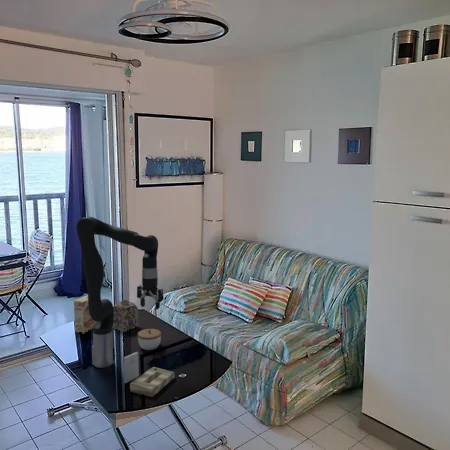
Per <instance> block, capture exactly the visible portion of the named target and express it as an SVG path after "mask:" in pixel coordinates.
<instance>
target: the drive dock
mask: <svg viewBox="0 0 450 450" xmlns="http://www.w3.org/2000/svg"><path fill="white" fill-rule="evenodd" d="M174 379H175V371H171V370H167V369H164V368H159V367H155V366H153V367H151V368H149V369H147V371H145V372H144V373H143V374H141V375H140V376H138V377H136V378H135V379H133V380H131V381H130V383H129V389H130V391H129V392H131V393H135V394H138V395H143V394H144V396H147V397H152V398H153V397H154V396H155V395H157V393H160V391H161V390H162V389H164V387H166V386H167V385H168V384H169V383H170V382H172V380H174Z"/></svg>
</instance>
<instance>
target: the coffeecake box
mask: <svg viewBox="0 0 450 450" xmlns="http://www.w3.org/2000/svg"><path fill="white" fill-rule="evenodd" d="M73 311H74V312H73V313H74V317H73V318H74V319H73V320H74V332H75V331H76V333H79V332H82V333H81V334H85V332H86V333H87V332H89V331H91V330H93V329H92V328H93V327H94V325H95V324H96V323H97V321H94V320H93V319H92V318H91V317H90V314H89V308H88V294H87V295H84V296H82V297H79V298H77V299H75V300H73ZM90 329H91V330H90ZM88 330H89V331H88Z"/></svg>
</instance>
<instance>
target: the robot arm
mask: <svg viewBox="0 0 450 450" xmlns="http://www.w3.org/2000/svg"><path fill="white" fill-rule="evenodd" d="M75 227H76V228H75V229H76V233H77V236H78V240H79V244H80V249H81V257H82V262H83V263H82V264H83V270H84V276H85V280H86V281H85V282H86V289H87V295H88V308H89V314H90V317H91V318H92V319H93V320H94V321H97V323H96V324H95V325H94V327H93V329H92V338H93V340H92V342H93V345H92V346H91V356H92V357H91V358H92V359H91V361H92V365H93V366H94V367H96V368H99V369H100V368H103V369H104V368H108V367H111V365H113V362H114V359H113V357H114V356H113V354H114V353H113V328H112V327H113V323H114V308H113V306H114V304H113V302H112V301H111V300H110V299H108V298H104V299H102V298H101V296H102V295H101V294H102V293H101V291H102V287H103V283H104V280H105V279H104V277H105V267H104V261H103V258H102V256H101V254H100V253H99V250H98V248H97V245H96V238H95V235H97V236H104V237H107V238H109V239H112V240H113V241H114V242H115V241H116V242H118V243H120V244H124V245H128V246H131V247H132V246H133V247H134V248H136V249H138V250H141V251H142V252H143V251H144V255H143V256H142V261H141V262H142V265H141V266H142V267H141V268H142V270H141V284H140V285H138V286H136V288H137V289H136V298H137V299H139V300H140V306H141V308H143V307H145V306H146V302H145V301H146V299H145V298H146V297H152V299H153V300H154V302H155V310H159V309H160V308H161V302H163V301H164V289H163V288H158V279H159V278H158V260H157V259H158V253H159V251H158V250H159V241H158V238H157V237H156V236H155V235H152V234H150V235H147V236H144V235H141V234H139V232H137V231H133V230H131V229H126V228H123V227H119V226H115V225H112V224H109V223H107V222H104V221H102V220H100V219H99V218H95V217H93V216H86V217H82V218H80V219H78V220H77V223H76V226H75Z"/></svg>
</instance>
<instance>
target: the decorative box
mask: <svg viewBox="0 0 450 450" xmlns="http://www.w3.org/2000/svg"><path fill="white" fill-rule="evenodd" d="M161 338H162V331H160V330H159V329H156V328H146V329H145V328H144V329H142V330H140V331H138V332H137V341H138V345H139V346H140V348H141V349H142V350H145V351H152V350H155V349H157V348H158V347H159V346H160V344H161V342H162V341H161Z"/></svg>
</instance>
